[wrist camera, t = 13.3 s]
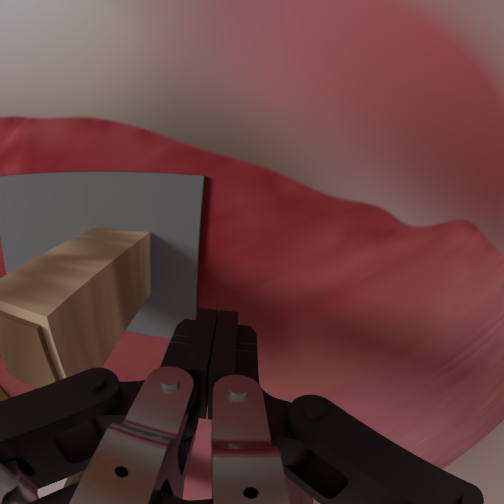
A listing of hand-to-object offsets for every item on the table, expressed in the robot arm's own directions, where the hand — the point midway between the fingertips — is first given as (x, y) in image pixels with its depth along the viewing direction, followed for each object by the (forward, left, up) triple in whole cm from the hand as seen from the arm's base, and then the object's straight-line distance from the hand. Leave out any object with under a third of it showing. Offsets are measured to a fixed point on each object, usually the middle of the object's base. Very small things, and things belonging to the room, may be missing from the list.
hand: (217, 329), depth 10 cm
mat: (+11, 0, -7) cm, 13 cm away
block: (+7, 0, -6) cm, 9 cm away
